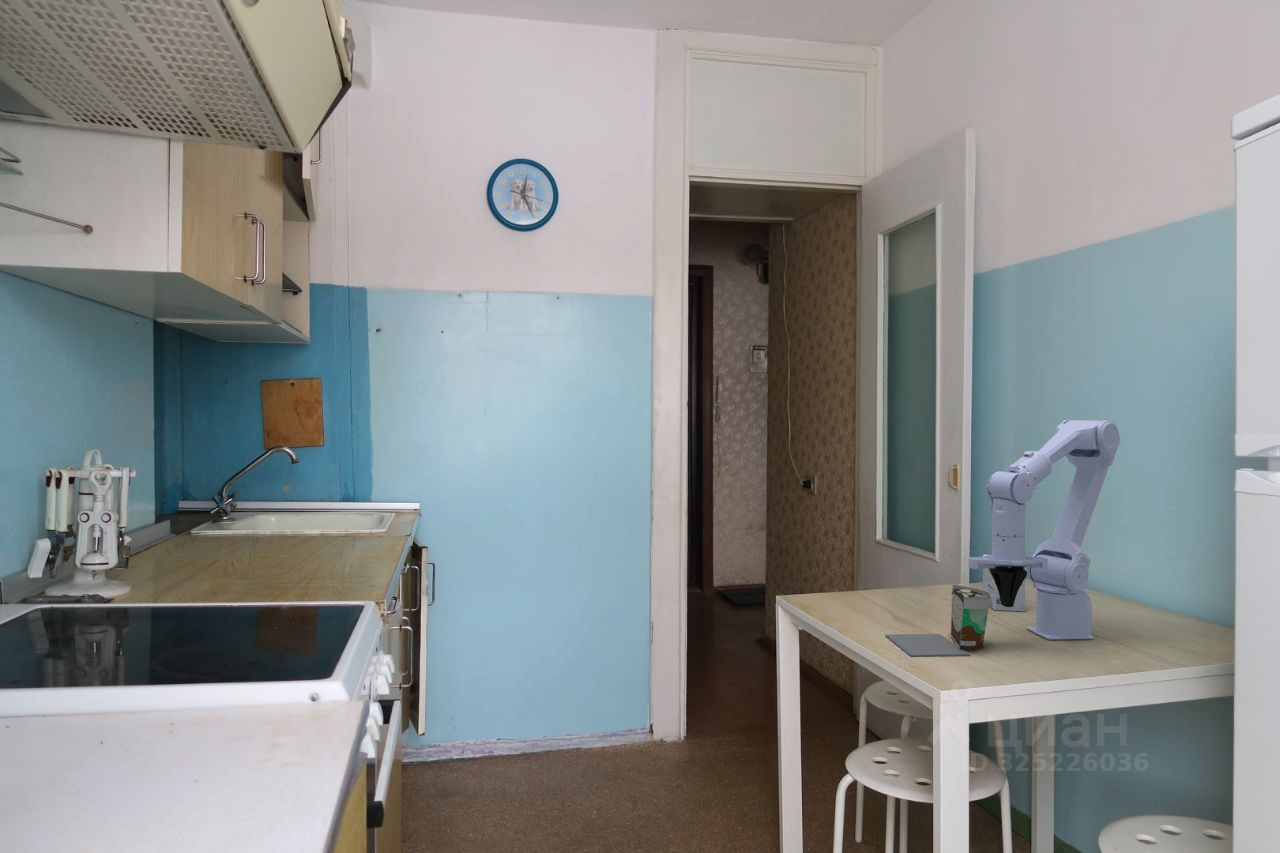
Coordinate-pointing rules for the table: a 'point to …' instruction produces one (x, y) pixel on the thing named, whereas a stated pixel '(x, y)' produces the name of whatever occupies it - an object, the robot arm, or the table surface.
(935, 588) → the table surface
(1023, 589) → the light bulb box
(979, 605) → the food container
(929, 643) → the mat
